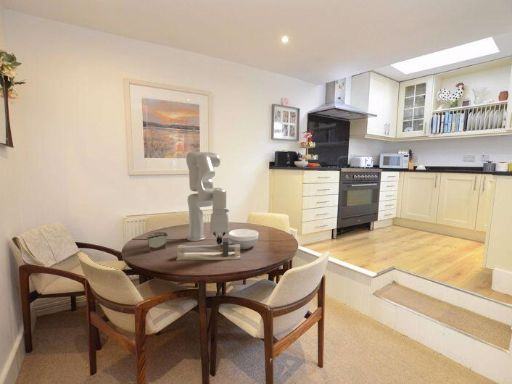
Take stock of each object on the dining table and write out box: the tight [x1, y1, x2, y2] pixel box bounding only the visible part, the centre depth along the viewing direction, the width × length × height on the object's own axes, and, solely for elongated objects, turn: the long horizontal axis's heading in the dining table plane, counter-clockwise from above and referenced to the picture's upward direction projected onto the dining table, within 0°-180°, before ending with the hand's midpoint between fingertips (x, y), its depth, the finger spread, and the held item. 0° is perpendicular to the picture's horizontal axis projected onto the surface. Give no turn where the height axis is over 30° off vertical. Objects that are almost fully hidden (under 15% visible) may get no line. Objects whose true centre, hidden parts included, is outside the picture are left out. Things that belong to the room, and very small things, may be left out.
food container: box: [146, 231, 168, 254], centre depth 149 cm, size 12×6×10 cm, turn 135°
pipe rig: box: [176, 244, 241, 262], centre depth 139 cm, size 9×34×6 cm, turn 96°
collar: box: [222, 237, 229, 256], centre depth 139 cm, size 7×3×8 cm, turn 6°
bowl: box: [228, 228, 259, 250], centre depth 158 cm, size 19×19×9 cm
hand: (219, 243), depth 139 cm, fingers closed
